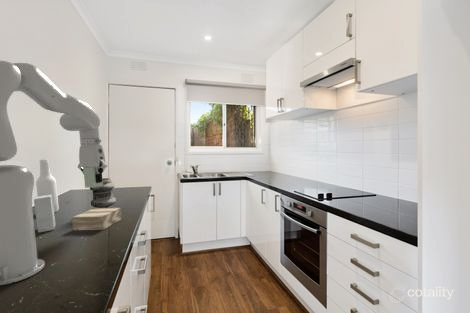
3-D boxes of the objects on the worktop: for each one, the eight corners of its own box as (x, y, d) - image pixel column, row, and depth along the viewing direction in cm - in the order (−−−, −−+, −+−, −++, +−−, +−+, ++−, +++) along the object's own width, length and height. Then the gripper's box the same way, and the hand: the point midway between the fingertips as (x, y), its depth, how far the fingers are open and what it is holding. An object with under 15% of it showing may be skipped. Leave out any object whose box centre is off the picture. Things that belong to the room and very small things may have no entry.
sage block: (94, 187, 107) (92, 167, 106) (85, 187, 108) (83, 167, 107) (103, 185, 112) (101, 165, 111) (93, 185, 113) (91, 166, 112)
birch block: (103, 230, 104) (102, 216, 103) (73, 230, 105) (71, 217, 105) (121, 219, 118) (120, 207, 117) (94, 220, 119) (93, 208, 118)
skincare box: (54, 230, 106) (51, 196, 105) (36, 233, 103) (33, 199, 102) (55, 224, 113) (52, 193, 112) (39, 227, 110) (36, 195, 109)
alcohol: (35, 214, 133) (29, 160, 130) (51, 209, 141) (46, 158, 139) (47, 215, 130) (41, 159, 128) (62, 210, 138) (57, 158, 136)
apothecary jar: (97, 216, 123) (94, 181, 122) (87, 213, 131) (84, 180, 129) (120, 210, 133) (118, 178, 132) (110, 207, 140) (107, 176, 139)
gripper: (112, 141, 110) (115, 180, 112) (80, 143, 114) (84, 181, 115) (100, 141, 103) (104, 184, 104) (66, 143, 106) (70, 184, 108)
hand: (93, 182), depth 110 cm, fingers closed on sage block, 5 cm apart
